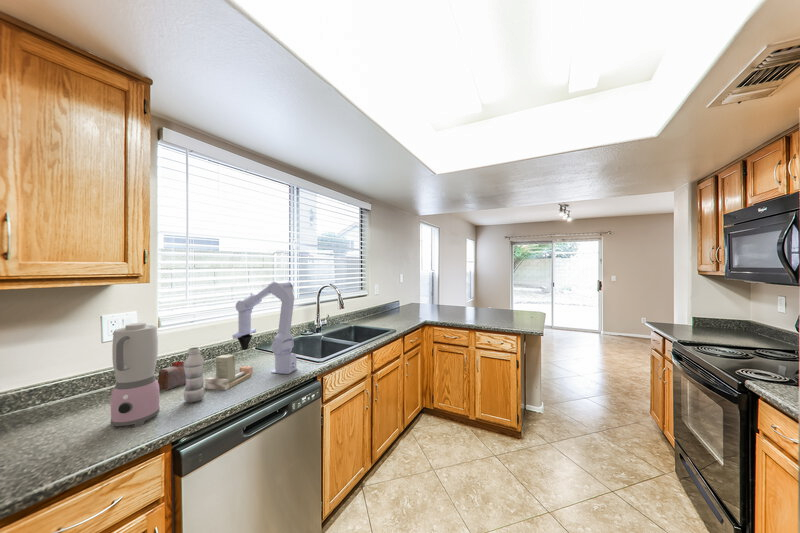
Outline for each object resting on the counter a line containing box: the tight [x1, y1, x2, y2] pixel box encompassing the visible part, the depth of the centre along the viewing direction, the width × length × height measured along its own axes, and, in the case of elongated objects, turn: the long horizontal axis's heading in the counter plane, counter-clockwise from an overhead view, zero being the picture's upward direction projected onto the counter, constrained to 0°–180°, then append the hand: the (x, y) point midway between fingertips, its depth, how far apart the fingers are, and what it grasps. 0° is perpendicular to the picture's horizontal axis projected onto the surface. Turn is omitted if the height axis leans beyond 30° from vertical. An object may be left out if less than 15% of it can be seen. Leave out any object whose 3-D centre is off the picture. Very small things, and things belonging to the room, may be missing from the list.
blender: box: [110, 322, 161, 430], centre depth 97 cm, size 16×12×32 cm
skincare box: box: [215, 354, 236, 383], centre depth 129 cm, size 6×4×12 cm
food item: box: [157, 361, 186, 391], centre depth 129 cm, size 14×8×10 cm, turn 164°
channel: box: [204, 373, 252, 391], centre depth 131 cm, size 10×15×4 cm, turn 168°
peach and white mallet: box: [235, 365, 253, 379], centre depth 137 cm, size 5×11×4 cm, turn 168°
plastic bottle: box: [183, 346, 205, 404], centre depth 112 cm, size 6×7×20 cm
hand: (244, 349), depth 153 cm, fingers closed
